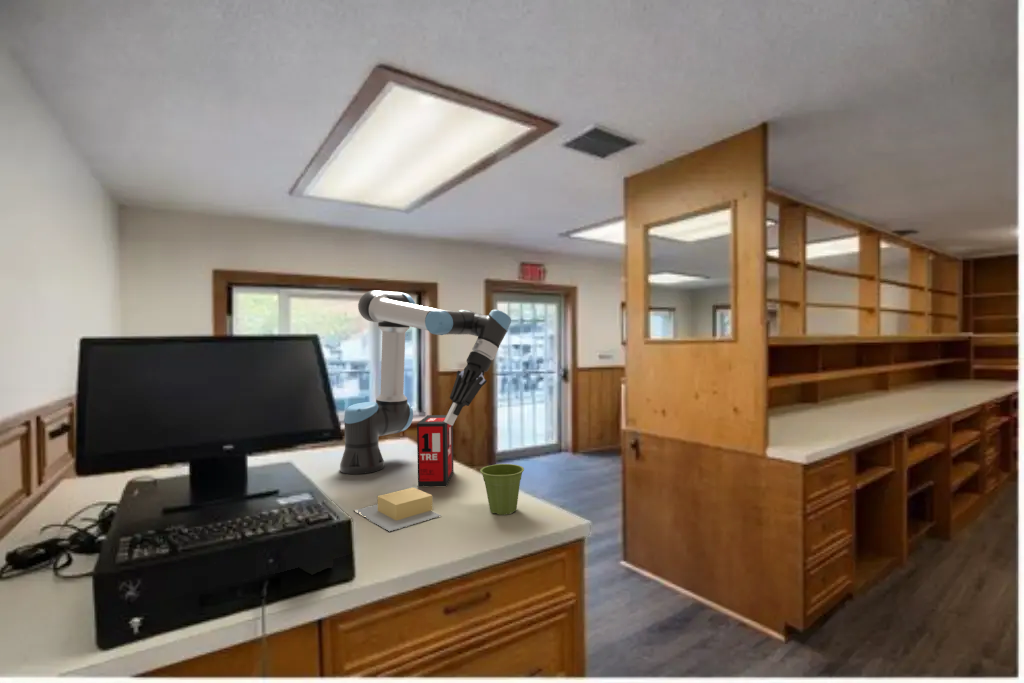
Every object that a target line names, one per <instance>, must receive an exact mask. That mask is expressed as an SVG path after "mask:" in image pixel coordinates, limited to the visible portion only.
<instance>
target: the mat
mask: <svg viewBox="0 0 1024 683" xmlns="http://www.w3.org/2000/svg"><path fill="white" fill-rule="evenodd" d="M356 510H358V513H359V512H361V514H362V515H363V516H366V518H367V519H369V520H370V521H369V520H368V521H369V522H371V521H372V522H371V523H373V524H374V523H375V524H374V525H376V524H377V525H376V526H378V525H379V526H381V527H382V528H381V527H380V528H381V529H383V528H384V529H383V530H385V529H386V530H388V531H389V532H388V531H387V532H388V533H391V532H390V531H392V532H394V531H393V530H395V531H398V530H397V529H399V528H402V529H404V528H403V527H405V528H407V527H406V526H408V527H411V526H410V525H412V526H414V525H413V524H415V525H417V524H416V523H418V524H420V523H419V522H422V521H425V520H428V519H431V520H433V519H432V518H435V519H437V518H436V517H438V518H440V517H439V516H441V517H442V515H441V514H438V513H437V512H434V511H433V510H431V511H428V512H424V513H421V514H417V515H414V516H410V517H407V518H403V519H400V520H397V521H396V520H394V519H392V518H390V517H389V516H387V515H385V514H383V513H381V512H379V511H378V503H376V504H373V505H369V506H365V507H361V508H357V509H356ZM366 518H365V519H366ZM367 519H366V520H367ZM428 521H429V520H428ZM425 522H426V521H425ZM422 523H423V522H422ZM379 526H378V527H379ZM386 530H385V531H386ZM399 530H400V529H399Z"/></svg>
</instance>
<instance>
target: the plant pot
mask: <svg viewBox="0 0 1024 683" xmlns="http://www.w3.org/2000/svg"><path fill="white" fill-rule="evenodd" d="M479 470H480V471H479V472H480V473H481V474H482V478H483V482H484V484H485V485H484V486H485V490H486V495H487V501H488V506H489V511H490V513H491V514H497V515H501V516H504V515H511V514H512V513H514V512H516V511H517V509H518V501H519V493H520V487H521V486H520V484H521V480H522V475H523V472H524V470H525V468H524V467H523V466H521V465H518V464H513V463H497V464H492V465H487V466H483V467H481V468H480V469H479Z"/></svg>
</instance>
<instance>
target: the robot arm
mask: <svg viewBox="0 0 1024 683" xmlns="http://www.w3.org/2000/svg"><path fill="white" fill-rule="evenodd" d="M357 307H358V312H359V315H360V316H361V317H362V318H363V319H364V320H366V321H369V322H373V323H377V324H378V329H379V330H381V332H382V333H381V361H380V363H381V364H380V367H381V368H380V394H379V395H378V396H377V397H376V398H375V401H364V402H358V403H354V404H352V405H349V406H348V407H346V408H345V410H344V417H343V422H344V450H343V454H342V457H341V460H340V463H339V464H340V465H339V471H340V472H341V473H343V474H348V475H349V474H350V475H362V474H370V473H375V472H378V471H381V470H382V469H384V468H385V465H384V463H385V460H384V458H383V455H382V452H381V450H380V446H379V437H382V436H387V435H392V434H397V433H400V432H404V431H406V430H407V429H408V428H409V427H410V426H411V424H412V422H413V419H414V409H413V407H412V405H411V404H410V403H409V402H408V397H407V396H406V395H405V394H404V392H405V391H404V388H405V384H404V383H405V355H406V354H405V353H406V352H405V351H406V332H407V331H408V330H409V329H410V328H415V329H419V330H424V331H428V332H429V333H430V334H432V335H437V336H443V335H469V336H474V337H477V339H476V341H475V342H474V345H473V347H472V350H471V351H470V352H469V355H468V356H467V358H466V363H467V364H466V366H465V367H464V368H463V370H461V371H460V370H458V371H456V378H455V381H454V384H453V386H452V389H451V393H450V396H449V399H450V400H451V404H450V407H449V408H448V410H447V411H448V412H447V413H446V415H447V416H446V418H445V420H444V422H446V423H447V424H449V425H452V426H454V424H455V421H456V420H457V418H458V416H459V415H460V413H461V412H462V409H463V408H464V407H465V406H466V407H469V406H470V404H471V403H472V402H473V400H474V399H475V397H476V396H477V394H478V393H479V392H480V390H481V389H482V388H483V386H484V385H486V383H487V379H485V377H484V376H485V372H488V371H489V370H490V367H491V366H492V365H491V364H492V362H493V360H494V359H495V357H496V355H497V353H498V350H499V348H500V346H501V343H502V341H503V340H504V339H505V336H506V334H507V332H508V330H509V328H510V325H511V323H512V319H511V317H510V316H509V315H508V314H507V313H505V312H504V311H502V310H499V309H492V310H490V312H489V314H482V313H479V312H476V311H475V312H474V311H472V310H469V309H459V310H455V311H454V310H446V309H439V308H435V307H429V306H423V305H421V304H420V305H419V304H416V301H415V300H414V299H413V297H412V296H411V295H410V294H409V293H405V292H401V291H389V290H375V289H374V290H369V291H367V292H365V293H364V294H362V295H361V297H360V298H359V301H358V304H357Z"/></svg>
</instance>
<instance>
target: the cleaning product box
mask: <svg viewBox="0 0 1024 683" xmlns="http://www.w3.org/2000/svg"><path fill="white" fill-rule="evenodd" d="M446 416H447V414H440V415H439V414H436V415H435V414H434V415H429V414H427V415H426V416H425V417H424V418H422V419H421V420H420V421H418V422H417V423H416V440H417V441H416V442H417V444H416V445H417V446H416V448H417V451H416V452H417V487H418V486H446V485H447V486H448V484H447V483H449V482H448V481H450V480H451V477H452V476H453V474H454V427H453V426H454V425H453V426H452V425H449V424H447V423H446V422H444V420H445V418H446ZM449 479H450V480H449ZM447 486H446V487H447Z"/></svg>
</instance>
